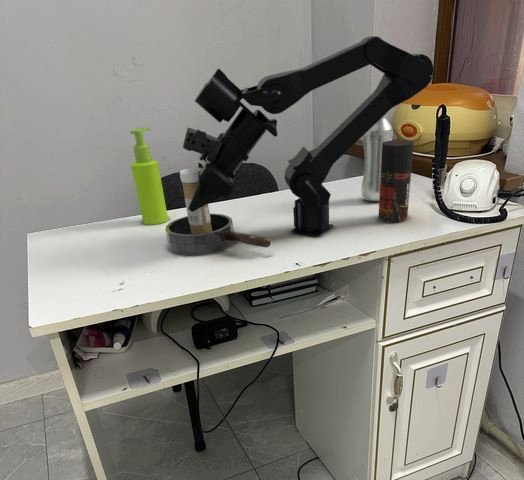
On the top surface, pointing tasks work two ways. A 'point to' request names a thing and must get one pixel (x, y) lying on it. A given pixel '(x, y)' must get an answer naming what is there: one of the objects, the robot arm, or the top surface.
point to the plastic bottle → (374, 157)
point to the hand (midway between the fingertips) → (190, 206)
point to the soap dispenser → (148, 182)
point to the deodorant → (395, 180)
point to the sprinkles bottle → (190, 182)
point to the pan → (198, 236)
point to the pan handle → (245, 238)
